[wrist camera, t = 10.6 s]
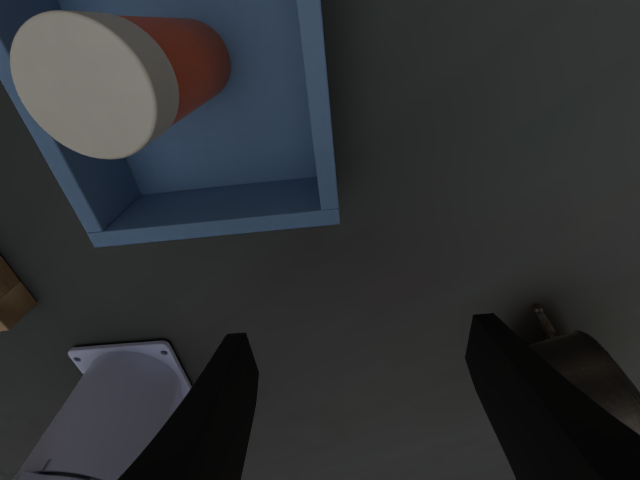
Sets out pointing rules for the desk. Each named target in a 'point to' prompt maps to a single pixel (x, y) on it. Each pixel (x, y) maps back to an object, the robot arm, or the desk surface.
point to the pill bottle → (114, 76)
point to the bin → (210, 132)
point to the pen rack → (12, 298)
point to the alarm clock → (590, 370)
